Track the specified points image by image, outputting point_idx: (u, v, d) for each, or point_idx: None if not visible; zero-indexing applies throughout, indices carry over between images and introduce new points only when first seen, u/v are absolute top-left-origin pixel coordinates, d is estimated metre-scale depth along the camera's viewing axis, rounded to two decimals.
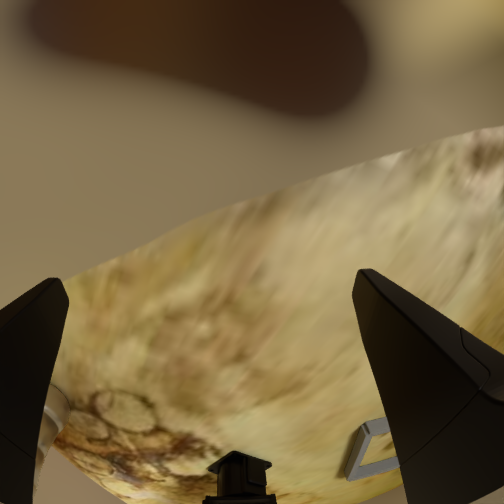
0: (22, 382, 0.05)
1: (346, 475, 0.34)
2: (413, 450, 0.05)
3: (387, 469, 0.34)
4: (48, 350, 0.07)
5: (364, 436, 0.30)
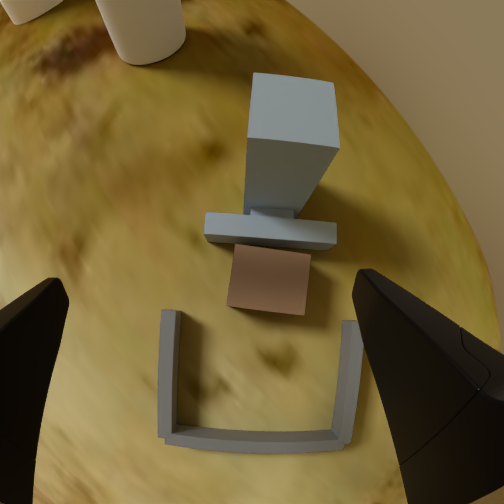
0: (22, 382, 0.05)
1: None
2: (413, 450, 0.05)
3: (352, 362, 0.19)
4: (48, 350, 0.07)
5: None
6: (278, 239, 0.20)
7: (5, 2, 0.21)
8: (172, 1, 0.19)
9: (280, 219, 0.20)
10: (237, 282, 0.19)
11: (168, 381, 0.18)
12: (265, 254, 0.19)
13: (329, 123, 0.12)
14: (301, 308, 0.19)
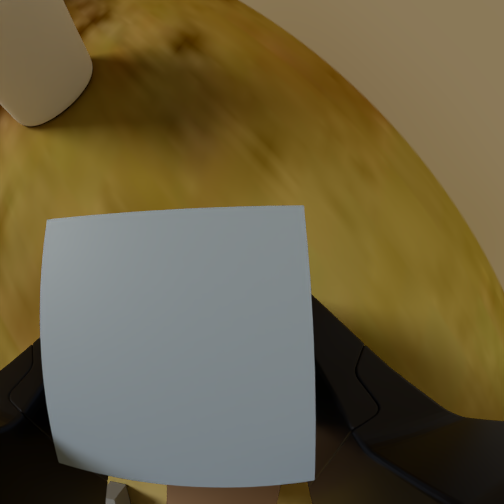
0: None
1: None
2: None
3: None
4: None
5: None
6: None
7: None
8: (51, 28, 0.11)
9: None
10: None
11: None
12: None
13: (284, 409, 0.04)
14: None
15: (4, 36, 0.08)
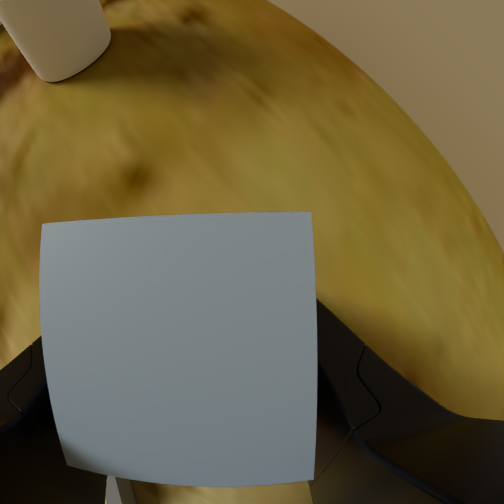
0: None
1: None
2: (315, 474, 0.05)
3: None
4: None
5: None
6: None
7: None
8: None
9: None
10: None
11: (113, 486, 0.11)
12: None
13: (287, 416, 0.04)
14: None
15: None
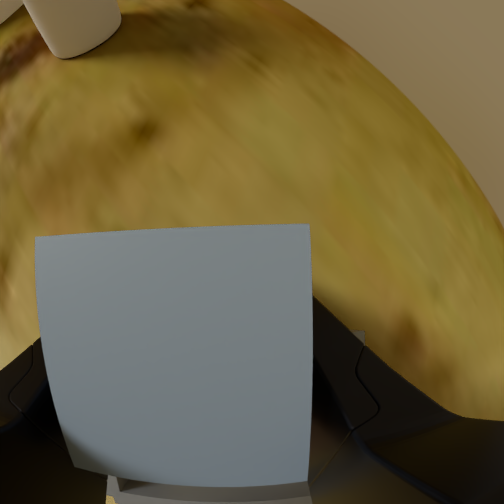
0: None
1: None
2: (314, 474, 0.05)
3: None
4: None
5: None
6: None
7: None
8: None
9: None
10: None
11: None
12: None
13: (282, 424, 0.04)
14: None
15: None
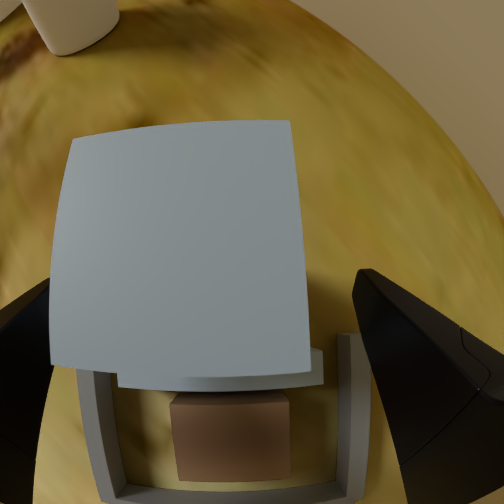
0: (22, 382, 0.05)
1: None
2: (413, 450, 0.05)
3: (357, 395, 0.12)
4: (48, 350, 0.07)
5: None
6: None
7: None
8: None
9: None
10: (185, 453, 0.11)
11: (96, 435, 0.11)
12: (218, 414, 0.11)
13: (277, 284, 0.04)
14: (285, 471, 0.11)
15: None
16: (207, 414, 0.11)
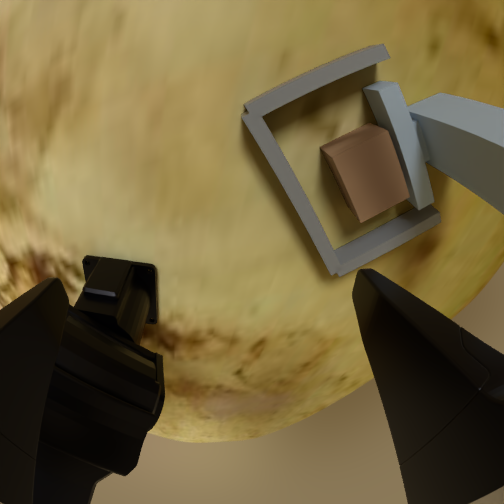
0: (22, 382, 0.05)
1: None
2: (413, 450, 0.05)
3: (410, 231, 0.20)
4: (48, 350, 0.07)
5: None
6: (403, 160, 0.17)
7: None
8: None
9: (420, 154, 0.17)
10: (357, 153, 0.16)
11: (321, 81, 0.15)
12: (392, 161, 0.17)
13: None
14: (365, 217, 0.19)
15: None
16: (390, 155, 0.16)
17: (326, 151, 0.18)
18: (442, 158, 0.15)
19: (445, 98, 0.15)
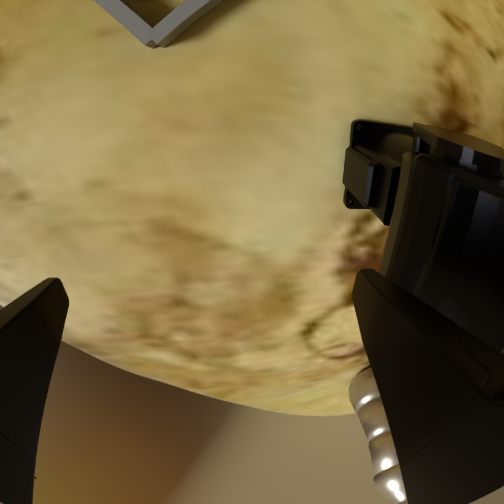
0: (22, 382, 0.05)
1: None
2: (413, 450, 0.05)
3: None
4: (48, 350, 0.07)
5: (164, 39, 0.13)
6: None
7: None
8: None
9: None
10: None
11: None
12: None
13: None
14: None
15: None
16: None
17: None
18: None
19: None
